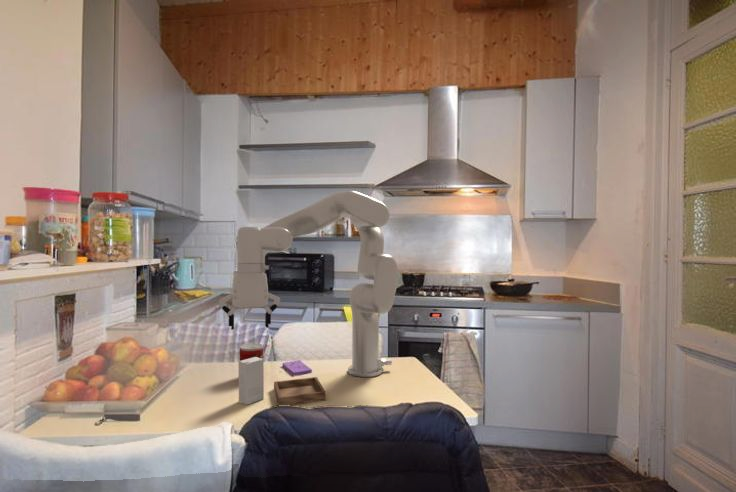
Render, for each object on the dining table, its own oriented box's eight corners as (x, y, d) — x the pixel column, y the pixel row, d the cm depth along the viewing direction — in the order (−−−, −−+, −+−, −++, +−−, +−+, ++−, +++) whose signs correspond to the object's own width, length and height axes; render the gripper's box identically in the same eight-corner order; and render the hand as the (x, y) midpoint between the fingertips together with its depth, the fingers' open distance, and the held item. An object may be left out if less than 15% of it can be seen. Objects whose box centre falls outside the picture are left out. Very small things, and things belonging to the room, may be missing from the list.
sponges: (299, 364, 153) (299, 359, 153) (312, 374, 142) (312, 368, 142) (282, 367, 149) (282, 362, 149) (293, 377, 139) (293, 372, 139)
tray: (316, 384, 130) (316, 376, 130) (325, 400, 117) (325, 391, 117) (274, 389, 126) (274, 381, 126) (278, 406, 113) (278, 397, 113)
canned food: (257, 382, 132) (257, 349, 132) (235, 381, 133) (235, 348, 133) (267, 375, 139) (267, 343, 139) (246, 373, 141) (246, 342, 141)
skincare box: (255, 395, 121) (255, 355, 121) (264, 399, 118) (264, 358, 118) (237, 401, 116) (237, 360, 116) (246, 406, 113) (246, 363, 113)
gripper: (279, 268, 123) (278, 323, 123) (219, 268, 117) (218, 326, 117) (282, 269, 116) (281, 328, 116) (218, 270, 110) (217, 332, 110)
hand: (249, 327), depth 117 cm, fingers open, 9 cm apart
